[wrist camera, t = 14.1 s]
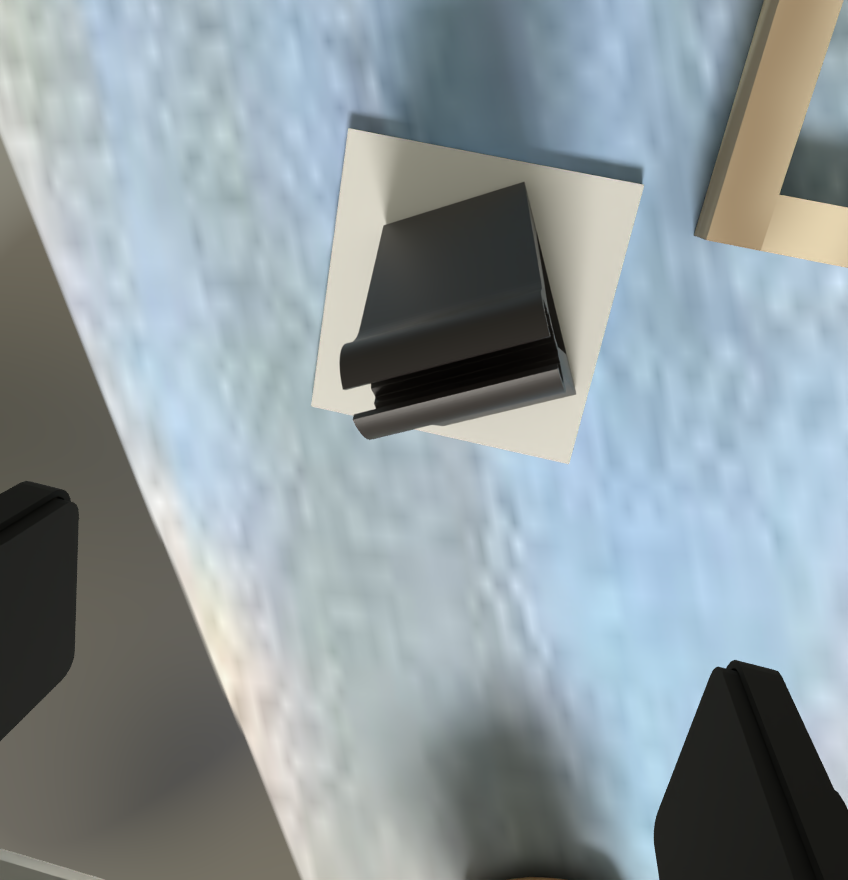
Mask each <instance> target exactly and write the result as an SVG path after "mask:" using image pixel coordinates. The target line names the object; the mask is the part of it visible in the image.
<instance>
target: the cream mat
mask: <svg viewBox="0 0 848 880" xmlns="http://www.w3.org/2000/svg"><path fill="white" fill-rule="evenodd" d="M521 182H525V185H526V189H527V193H528V197H529V201H530V206H531V210H532V214H533V218H534V222H535V226H536V230H537V234H538V238H539V242H540V247H541V251H542V255H543V259H544V263H545V267H546V271H547V275H548V279H549V283H550V288H551V292H552V296H553V300H554V304H555V308H556V312H557V316H558V320H559V324H560V328H561V333H562V337H563V341H564V345H565V349H566V353H567V357H568V361H569V365H570V369H571V374H572V378H573V382H574V386H575V390H576V395H572V396H568V397H564V398H559V399H555V400H551V401H547V402H543V403H538V404H534V405H530V406H526V407H522V408H518V409H513V410H509V411H505V412H501V413H497V414H492V415H488V416H484V417H480V418H476V419H472V420H467V421H463V422H459V423H455V424H451V425H447V426H437V425H430V426H425V427H421V428H417V429H415V430H419V431H424V432H428V433H433V434H437V435H442V436H446V437H450V438H455V439H459V440H464V441H468V442H473V443H477V444H482V445H486V446H491V447H495V448H499V449H504V450H508V451H513V452H517V453H522V454H526V455H531V456H535V457H540V458H544V459H548V460H553V461H557V462H562V463H566V464H569V462H570V459H571V455H572V451H573V447H574V444H575V440H576V436H577V433H578V429H579V425H580V421H581V418H582V414H583V410H584V407H585V403H586V399H587V396H588V392H589V388H590V384H591V381H592V377H593V373H594V370H595V366H596V362H597V358H598V355H599V351H600V347H601V344H602V340H603V336H604V332H605V329H606V325H607V321H608V318H609V314H610V310H611V306H612V303H613V299H614V295H615V292H616V288H617V284H618V280H619V277H620V273H621V269H622V266H623V262H624V258H625V254H626V251H627V247H628V243H629V240H630V236H631V232H632V228H633V225H634V221H635V217H636V214H637V210H638V206H639V203H640V199H641V195H642V191H643V188H644V185H642V184H637V183H632V182H626V181H621V180H616V179H611V178H606V177H600V176H595V175H590V174H585V173H579V172H574V171H569V170H564V169H559V168H553V167H548V166H543V165H538V164H532V163H527V162H522V161H517V160H512V159H506V158H501V157H496V156H491V155H485V154H480V153H475V152H470V151H465V150H459V149H454V148H449V147H444V146H438V145H433V144H428V143H423V142H418V141H412V140H407V139H402V138H397V137H391V136H386V135H381V134H376V133H371V132H365V131H360V130H355V129H350V128H348V135H347V142H346V150H345V157H344V165H343V172H342V180H341V187H340V195H339V202H338V210H337V217H336V225H335V232H334V239H333V247H332V254H331V262H330V269H329V277H328V284H327V292H326V299H325V307H324V314H323V322H322V329H321V336H320V344H319V351H318V359H317V366H316V374H315V381H314V389H313V396H312V404H311V406H312V407H317V408H321V409H326V410H330V411H335V412H339V413H344V414H348V415H353V416H354V414H357V413H361V412H365V411H369V410H373V409H376V408H375V405H374V401H375V395H374V394H373V392H372V390H371V384H367V385H364V386H360V387H356V388H352V389H348V390H343V388H342V383H341V377H340V365H339V361H340V352H341V349H342V346H343V345H344V344H346V343H349V342H353V341H354V340H355V339H356V337H357V335H358V333H359V329H360V325H361V320H362V316H363V312H364V307H365V303H366V299H367V294H368V290H369V286H370V281H371V277H372V273H373V268H374V264H375V260H376V255H377V251H378V247H379V242H380V238H381V234H382V229H383V225H386V224H389V223H393V222H396V221H399V220H402V219H405V218H409V217H412V216H415V215H418V214H421V213H425V212H428V211H431V210H434V209H438V208H441V207H444V206H447V205H450V204H454V203H457V202H460V201H463V200H467V199H470V198H473V197H476V196H479V195H483V194H486V193H489V192H492V191H496V190H499V189H502V188H505V187H508V186H512V185H515V184H518V183H521Z"/></svg>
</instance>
